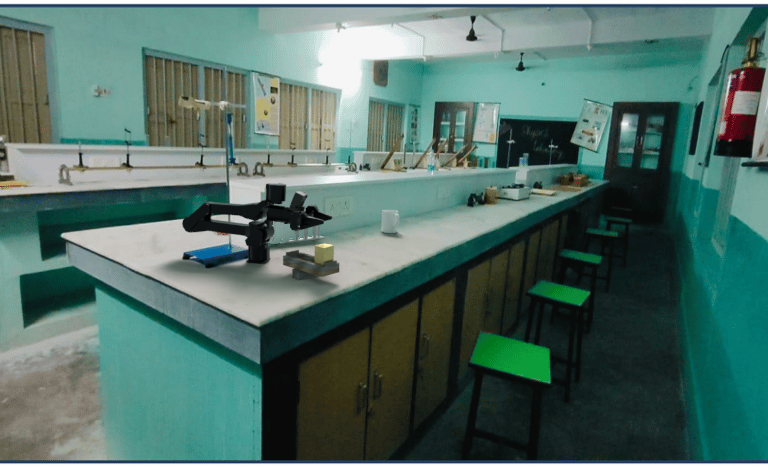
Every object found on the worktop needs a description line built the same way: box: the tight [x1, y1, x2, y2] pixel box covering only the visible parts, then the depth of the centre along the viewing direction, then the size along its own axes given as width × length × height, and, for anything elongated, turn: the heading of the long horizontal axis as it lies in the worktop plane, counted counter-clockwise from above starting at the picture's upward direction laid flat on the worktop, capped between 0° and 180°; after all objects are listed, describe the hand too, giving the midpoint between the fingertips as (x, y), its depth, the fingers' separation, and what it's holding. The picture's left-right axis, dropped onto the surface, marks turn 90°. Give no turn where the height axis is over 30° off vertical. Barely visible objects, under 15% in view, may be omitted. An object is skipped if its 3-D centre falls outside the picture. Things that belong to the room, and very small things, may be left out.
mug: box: [380, 209, 401, 234], centre depth 216 cm, size 12×8×10 cm, turn 29°
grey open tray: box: [282, 249, 340, 281], centre depth 141 cm, size 18×9×7 cm, turn 52°
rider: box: [314, 242, 335, 266], centre depth 136 cm, size 4×4×7 cm
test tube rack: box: [279, 209, 325, 245], centre depth 190 cm, size 25×4×13 cm, turn 130°
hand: (328, 220), depth 150 cm, fingers open, 9 cm apart
